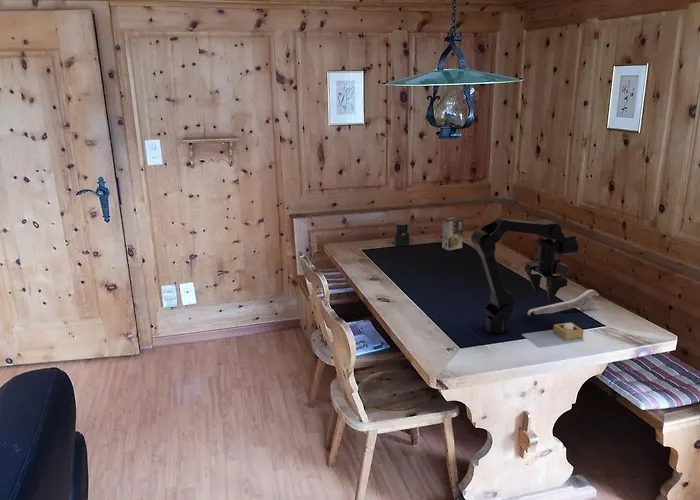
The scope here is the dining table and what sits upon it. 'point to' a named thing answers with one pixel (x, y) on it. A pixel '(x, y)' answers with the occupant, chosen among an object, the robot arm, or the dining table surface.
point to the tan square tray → (568, 332)
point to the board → (549, 337)
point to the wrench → (568, 304)
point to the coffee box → (452, 233)
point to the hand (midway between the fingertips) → (543, 297)
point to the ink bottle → (402, 234)
